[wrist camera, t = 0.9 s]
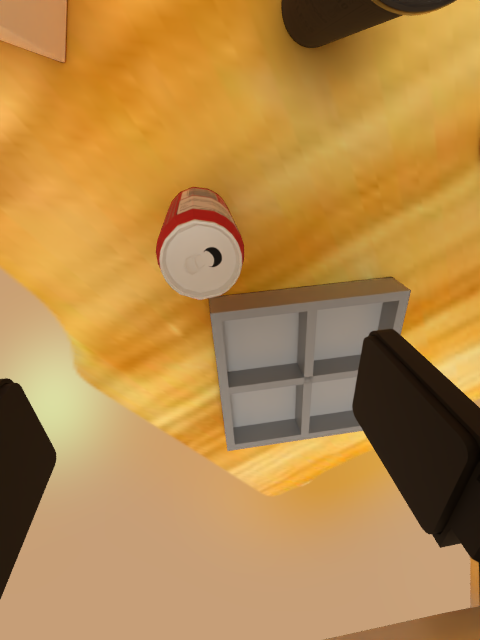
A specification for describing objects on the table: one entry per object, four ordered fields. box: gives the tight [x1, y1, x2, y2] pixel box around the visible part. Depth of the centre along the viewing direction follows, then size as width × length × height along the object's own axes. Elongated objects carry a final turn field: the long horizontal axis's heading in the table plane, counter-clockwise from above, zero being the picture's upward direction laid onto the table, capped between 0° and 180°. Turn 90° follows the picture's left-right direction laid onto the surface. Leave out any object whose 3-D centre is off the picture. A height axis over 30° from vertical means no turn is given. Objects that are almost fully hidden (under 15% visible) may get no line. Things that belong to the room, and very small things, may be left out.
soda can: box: [156, 187, 244, 300], centre depth 24 cm, size 6×6×12 cm
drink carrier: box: [209, 277, 411, 451], centre depth 37 cm, size 20×20×4 cm
